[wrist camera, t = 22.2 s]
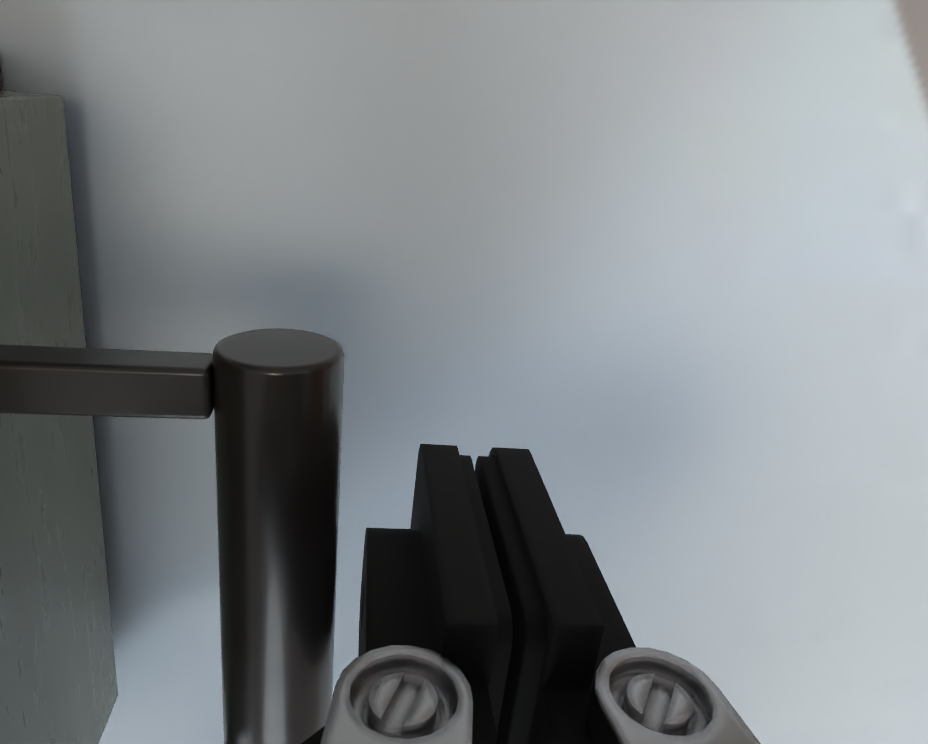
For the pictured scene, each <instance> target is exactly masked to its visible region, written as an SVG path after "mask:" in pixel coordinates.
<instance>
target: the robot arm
mask: <svg viewBox="0 0 928 744" xmlns="http://www.w3.org/2000/svg"><path fill="white" fill-rule="evenodd" d="M301 744H760V742H759V741H758V740H757V738H756V737H755V736H754V735H753V733H752V732H751V731H750V729H749V728H748V727H747V725H746V724H745V723H744V721H743V720H742V719H741V717H740V716H739V715H738V713H737V712H736V711H735V709H734V708H733V707H732V705H731V704H730V703H729V701H728V700H727V699H726V697H725V696H724V695H723V694H722V692H721V691H720V690H719V688H718V687H717V686H716V685H715V684H714V683H713V682H712V681H711V679H710V678H709V677H708V676H707V675H706V674H705V673H704V672H703V671H701V670H700V669H698V668H697V667H695V666H694V665H692V664H691V663H689V662H688V661H686V660H684V659H682V658H680V657H677V656H675V655H673V654H671V653H668V652H665V651H660V650H656V649H652V648H636V646H635V644H634V642H633V640H632V638H631V636H630V634H629V631H628V629H627V627H626V625H625V623H624V621H623V618H622V616H621V614H620V612H619V610H618V608H617V606H616V603H615V601H614V599H613V597H612V595H611V593H610V591H609V588H608V586H607V584H606V582H605V580H604V578H603V575H602V573H601V571H600V569H599V567H598V565H597V563H596V560H595V558H594V556H593V554H592V552H591V550H590V548H589V545H588V543H587V541H586V540H585V538H584V537H583V536H581V535H575V534H565V532H564V530H563V528H562V525H561V523H560V521H559V518H558V516H557V514H556V511H555V509H554V507H553V504H552V502H551V499H550V497H549V495H548V492H547V490H546V488H545V485H544V483H543V481H542V478H541V476H540V474H539V471H538V469H537V467H536V464H535V462H534V460H533V457H532V455H531V453H530V451H529V449H513V448H492V449H491V451H490V454H489V457H486V456H478V458H477V461H476V467H475V471H474V467H473V463H472V459H471V457H470V456H464V455H459V451H458V448H457V446H452V445H432V444H420V447H419V453H418V462H417V471H416V481H415V490H414V500H413V509H412V519H411V528H410V529H389V528H366V534H365V545H364V557H363V570H362V583H361V600H360V620H359V657H357V658H355V659H354V660H353V661H352V662H351V663H350V664H349V665H348V666H347V667H346V668H345V669H344V670H343V671H342V673H341V675H340V677H339V679H338V682H337V684H336V686H335V689H334V693H333V697H332V701H331V705H330V709H329V712H328V716H327V720H326V724H325V726H324V727H322V728H321V729H320V730H318V731H317V732H316V733H314V734H313V735H312V736H310V737H309V738H308V739H306V740H305V741H304V742H303V743H301Z"/></svg>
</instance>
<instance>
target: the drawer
mask: <svg viewBox="0 0 928 744" xmlns="http://www.w3.org/2000/svg"><path fill="white" fill-rule="evenodd" d="M343 379H344V352H343V349H342V347H341V345H340V344H339V343H338V342H336V341H335V340H333V339H331V338H329V337H326V336H323V335H320V334H317V333H313V332H308V331H302V330H294V329H260V330H252V331H246V332H241V333H237V334H234V335H231V336H228V337H226V338H224V339H222V340H220V341H219V342H218V343H217V344H216V346H215V348H214V350H213V354H211V353H191V352H167V351H144V350H120V349H96V348H86V341H85V330H84V319H83V309H82V298H81V287H80V276H79V265H78V254H77V243H76V232H75V222H74V211H73V200H72V189H71V178H70V167H69V156H68V145H67V134H66V124H65V113H64V102H63V98H62V97H60V96H56V95H45V94H34V93H22V92H11V91H0V744H98V743H99V741H100V738H101V736H102V733H103V731H104V728H105V726H106V724H107V721H108V719H109V716H110V714H111V711H112V709H113V706H114V704H115V701H116V699H117V696H118V690H117V679H116V668H115V657H114V646H113V635H112V624H111V613H110V603H109V592H108V581H107V570H106V559H105V548H104V537H103V526H102V515H101V505H100V494H99V483H98V472H97V461H96V450H95V439H94V428H93V417H92V416H111V417H145V418H179V419H206V418H209V417H210V415H211V413H212V411H213V409H214V415H215V450H216V484H217V518H218V552H219V587H220V621H221V655H222V689H223V724H224V744H301V743H303V742H304V741H305V740H306V739H308V738H309V737H310V736H312V735H313V734H314V733H316V732H317V731H318V730H320V729H321V728H322V727H324V726H325V724H326V720H327V716H328V712H329V709H330V705H331V701H332V682H333V654H334V627H335V599H336V572H337V544H338V516H339V489H340V461H341V434H342V406H343Z"/></svg>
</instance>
